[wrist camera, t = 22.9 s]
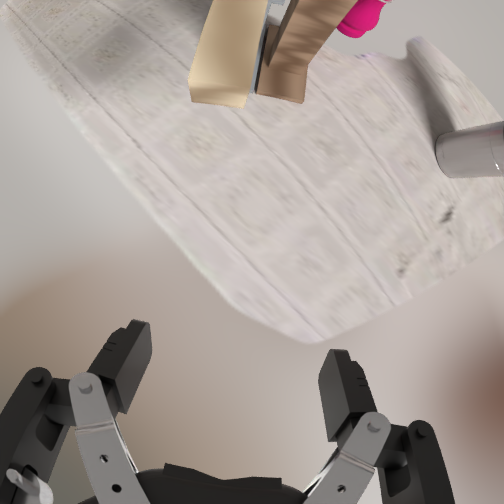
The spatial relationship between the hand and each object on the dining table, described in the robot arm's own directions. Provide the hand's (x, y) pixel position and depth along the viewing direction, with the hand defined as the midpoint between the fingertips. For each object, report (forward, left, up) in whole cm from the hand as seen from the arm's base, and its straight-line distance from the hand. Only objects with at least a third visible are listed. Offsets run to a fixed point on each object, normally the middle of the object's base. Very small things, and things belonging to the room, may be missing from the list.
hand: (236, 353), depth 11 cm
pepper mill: (-16, -45, -28) cm, 55 cm away
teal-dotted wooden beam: (+2, -24, -5) cm, 25 cm away
